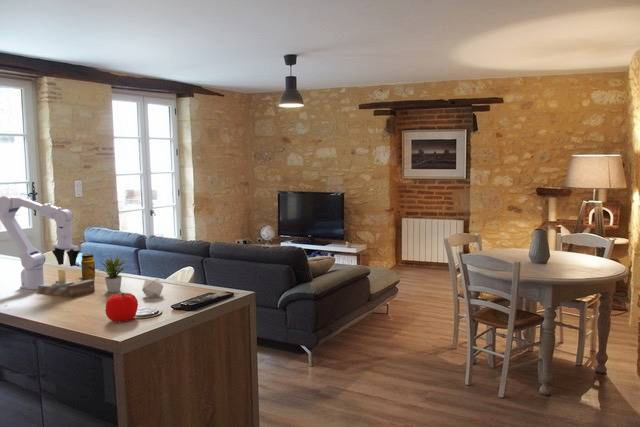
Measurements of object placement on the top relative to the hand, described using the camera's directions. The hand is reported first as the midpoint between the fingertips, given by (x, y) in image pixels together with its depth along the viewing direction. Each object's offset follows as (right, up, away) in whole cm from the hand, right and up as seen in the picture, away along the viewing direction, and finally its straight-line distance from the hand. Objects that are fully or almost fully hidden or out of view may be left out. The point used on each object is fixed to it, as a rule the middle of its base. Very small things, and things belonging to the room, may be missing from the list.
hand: (66, 265), depth 242 cm
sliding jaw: (+1, -9, -6) cm, 11 cm away
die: (+45, -12, -16) cm, 49 cm away
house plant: (+25, -11, -7) cm, 28 cm away
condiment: (+1, -9, +18) cm, 20 cm away
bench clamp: (+3, -11, -7) cm, 13 cm away
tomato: (+44, -16, -49) cm, 67 cm away
